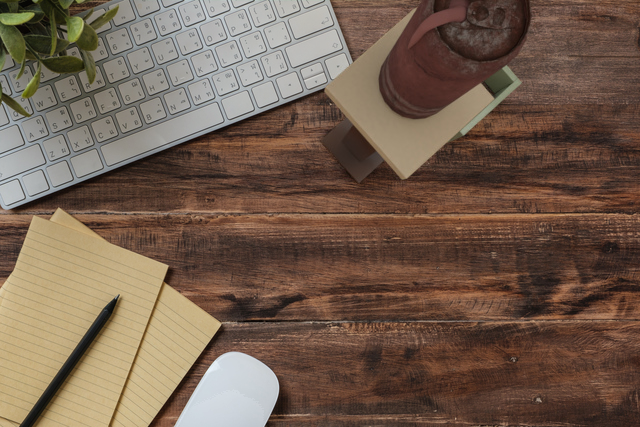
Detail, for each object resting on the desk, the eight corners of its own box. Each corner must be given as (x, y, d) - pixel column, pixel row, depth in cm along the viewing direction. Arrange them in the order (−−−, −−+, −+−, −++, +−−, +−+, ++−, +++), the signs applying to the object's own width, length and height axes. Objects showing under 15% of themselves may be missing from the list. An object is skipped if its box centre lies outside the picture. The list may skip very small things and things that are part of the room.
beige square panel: (323, 91, 40) (325, 86, 39) (411, 14, 41) (415, 7, 39) (402, 180, 41) (406, 178, 39) (487, 103, 41) (495, 98, 40)
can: (362, 63, 39) (404, -21, 25) (433, 35, 39) (513, -63, 25) (391, 132, 39) (448, 87, 25) (461, 104, 40) (555, 43, 26)
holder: (399, 86, 68) (410, 74, 62) (453, 38, 69) (469, 21, 63) (448, 142, 69) (463, 135, 63) (502, 94, 69) (522, 82, 63)
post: (320, 141, 67) (340, 92, 40) (361, 104, 68) (410, 31, 41) (357, 183, 68) (403, 163, 41) (399, 146, 68) (471, 101, 41)
